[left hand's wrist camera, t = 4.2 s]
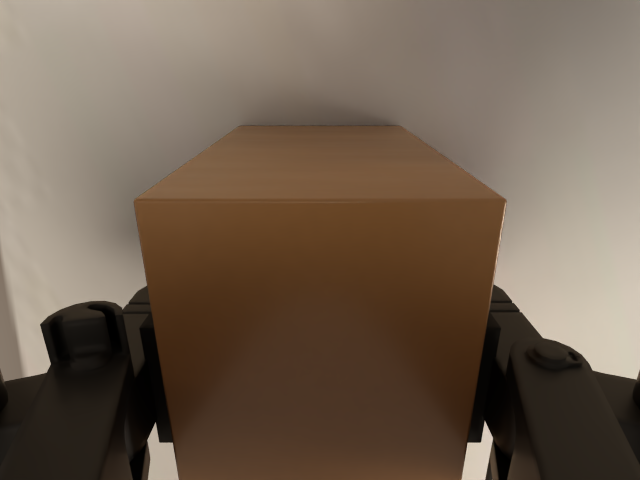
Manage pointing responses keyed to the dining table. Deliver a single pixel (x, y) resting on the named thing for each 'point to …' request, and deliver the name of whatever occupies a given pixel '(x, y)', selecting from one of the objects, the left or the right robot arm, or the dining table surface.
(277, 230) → the beam
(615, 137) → the dining table surface
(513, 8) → the dining table surface
